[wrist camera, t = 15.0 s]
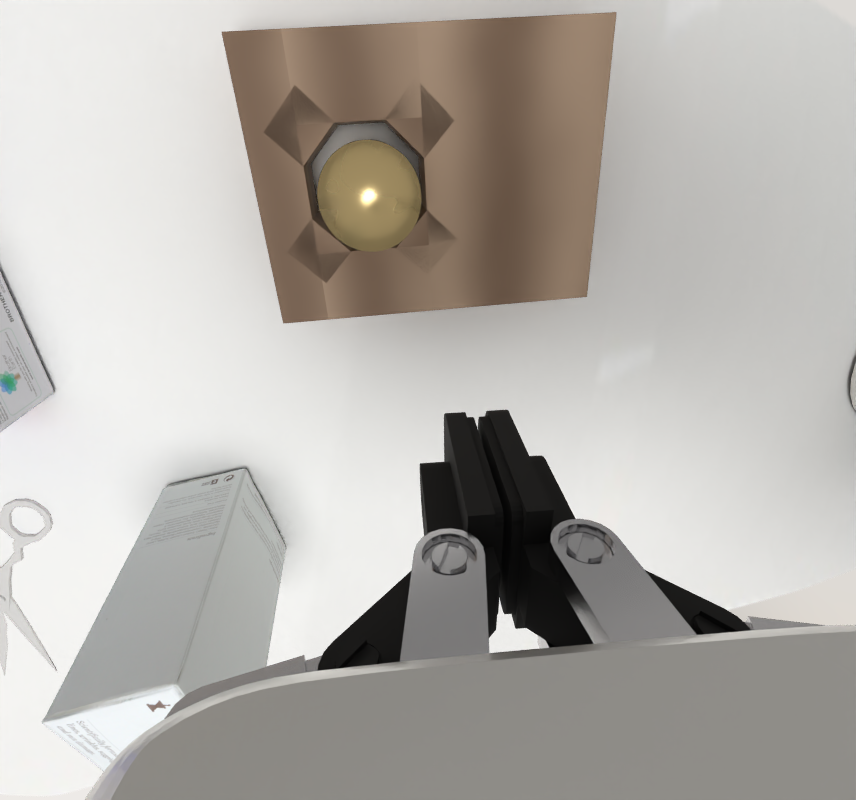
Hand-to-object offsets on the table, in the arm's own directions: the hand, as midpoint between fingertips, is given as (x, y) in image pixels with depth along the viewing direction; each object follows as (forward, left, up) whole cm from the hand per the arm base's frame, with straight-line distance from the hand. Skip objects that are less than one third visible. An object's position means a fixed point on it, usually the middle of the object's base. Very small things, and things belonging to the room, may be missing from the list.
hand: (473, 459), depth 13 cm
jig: (-1, -6, -17) cm, 18 cm away
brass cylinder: (+2, -6, -17) cm, 18 cm away
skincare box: (+14, +15, -17) cm, 27 cm away
